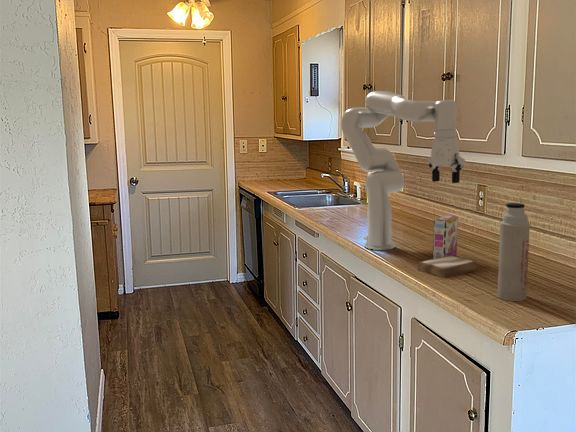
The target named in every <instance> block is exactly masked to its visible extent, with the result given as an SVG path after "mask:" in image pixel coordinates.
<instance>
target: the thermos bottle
mask: <svg viewBox="0 0 576 432" xmlns="http://www.w3.org/2000/svg"><path fill="white" fill-rule="evenodd" d="M525 206H526V205H525V203H521V202H520V203H518V202H509V203H506V205H505V207H506V211H505V213H503V215H502V221H500V223H499V245H498V246H499V247H498V250H499V251H498V273H497V297H498V298H499V299H502V300H505V301H511V302H521V301H525V300H526V299H527V290H528V287H527V286H528V268H529V252H530V251H529V246H530V230H531V229H530V227H531V225H530V222H528V219H529V218H528V215H527V214H526V213H525Z"/></svg>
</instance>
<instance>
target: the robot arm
mask: <svg viewBox="0 0 576 432" xmlns="http://www.w3.org/2000/svg"><path fill="white" fill-rule="evenodd" d="M364 103H365V107H364V106H363V107H360V106H359V107H351V108H348V109H347V110H346V111H345V112H344V113H343V114H342V117H341V121H340V126H341V131H342V134H343V136H344V138H345V139H346V140H347V143H348V144H349V146H350V148H351V150H352V152H353V154H354V157H355V160H356V161H357V163H358V165H359V167H360V169H361V170H362V171H364V172H366V173H369V172H370V174H369V175H368V176H367V177H366V179H365V183H364V184H365V191H366V195H367V197H366V198H367V234H365V236H363V240H366V242H365V243H364V244H363V245H364V248H365V247H366V248H365V249H367V248H368V249H367V250H371V249H373V250H372V251H386V250H387V251H389V250H392V249H394V248H395V247H396V245H395V243H394V242H392V203H391V199H390V198H389V197H390V196H389V195H388V194H394V193H397V192H398V193H399V192H401V190H403V188H404V186H405V178H404V175H403V173H402V170H401V169H400V166H399V164H398V162H397V161H396V160H397V159H395V157H394V156H395V155H394V154H393V153H392V152H391V150H389V149H387V148H384V147H380V148H379V147H378V148H377V147H375V146H374V145H373V142H372V141H371V138H370V137H369V136H368V135H367V134H366V132H365V131H363V129H366V128H370V129H371V128H375V127H377V126H379V125H381V124H382V123H383V122H384V121H385V120H386V119H388V118H389V117H390V116H391V117H394V118H396V119H399V120H403V121H408V122H413V123H425V122H426V123H428V122H431V123H433V122H434V132H433V135H434V138H433V139H432V142H431V152H430V157H428V158H427V164H428V166H429V168H430V171H431V174H432V175H431V177H432V178H431V182H433V183H436V182H440V177H441V175H440V173H441V171H440V170H439V169H440V168H441V167H445V168H446V167H450V168H451V170H452V172H451V183H452V184H458V183H460V182H461V181H460V178H461V177H460V174H461V173H460V172H461V171H462V169H463V168H464V165H465V162H466V159H465V158H463V157H462V156H461V155H460V147H459V142H458V138H457V103H456V100H454V99H444V100H443V99H442V100H437V101H435V100H412V99H406V97H405V96H404V95H402V94H398V93H395V92H393V91H389V90H386V91H385V90H384V91H383V90H382V91H381V90H376V91H375V90H374V91H371V92H369V93H368V94H367V96H366V97H365V100H364ZM371 172H372V173H371Z"/></svg>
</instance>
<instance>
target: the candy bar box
mask: <svg viewBox="0 0 576 432" xmlns="http://www.w3.org/2000/svg"><path fill="white" fill-rule="evenodd" d="M458 223H459V216H457V215H444V216H440V217H437V218H434V219H433V242H432V244H433V245H432V251H433V252H432V259H436V258H440V257H445V256H454V257H457V254H458V253H457V250H458V249H457V248H458V247H457V246H458V230H459V228H458V227H459V224H458Z"/></svg>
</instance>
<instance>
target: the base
mask: <svg viewBox="0 0 576 432" xmlns="http://www.w3.org/2000/svg"><path fill="white" fill-rule="evenodd" d="M477 263H478V262H477V261H474V260H471V259H467V258H466V259H465V258H461V257H458V256H456V257H454V256H445V257H440V258H436V259H433V258H431V259H427V260H423V261H418V264H417V265H418V266H417V267H418V269H417V270H418V272H419V271H420V272H423V273H427V274H430V275H432V276H436V277H441V278H444V279H446V278H449V277H453V276H458V275H462V274H466V273H471V272H474V271H477Z"/></svg>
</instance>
